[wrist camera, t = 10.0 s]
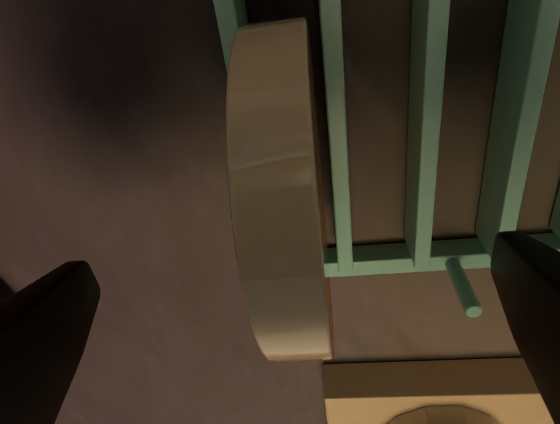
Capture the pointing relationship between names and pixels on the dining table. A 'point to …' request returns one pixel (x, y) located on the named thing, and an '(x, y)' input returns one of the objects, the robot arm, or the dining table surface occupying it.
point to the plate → (278, 190)
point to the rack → (437, 139)
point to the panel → (433, 393)
